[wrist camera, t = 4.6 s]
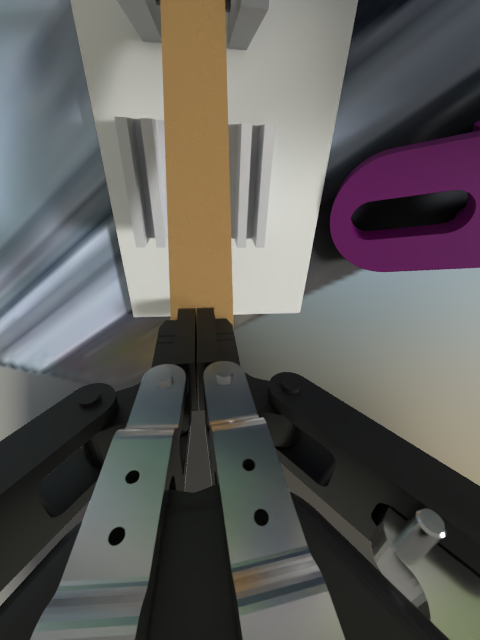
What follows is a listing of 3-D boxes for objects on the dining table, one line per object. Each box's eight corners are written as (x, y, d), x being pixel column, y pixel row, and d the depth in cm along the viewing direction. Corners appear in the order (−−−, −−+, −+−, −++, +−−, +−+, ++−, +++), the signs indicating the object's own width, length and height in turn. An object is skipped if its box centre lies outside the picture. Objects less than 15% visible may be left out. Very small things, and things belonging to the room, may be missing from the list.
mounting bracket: (337, 239, 33) (543, 220, 26) (332, 274, 27) (600, 262, 20) (335, 147, 28) (593, 92, 21) (327, 164, 21) (692, 95, 14)
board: (367, -80, 16) (483, -228, 9) (297, 308, 30) (324, 357, 24) (49, -126, 14) (-85, -355, 7) (135, 312, 28) (115, 367, 22)
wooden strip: (156, -17, 13) (150, -55, 12) (228, -9, 14) (231, -45, 12) (169, 378, 14) (165, 386, 12) (238, 375, 14) (241, 382, 13)
